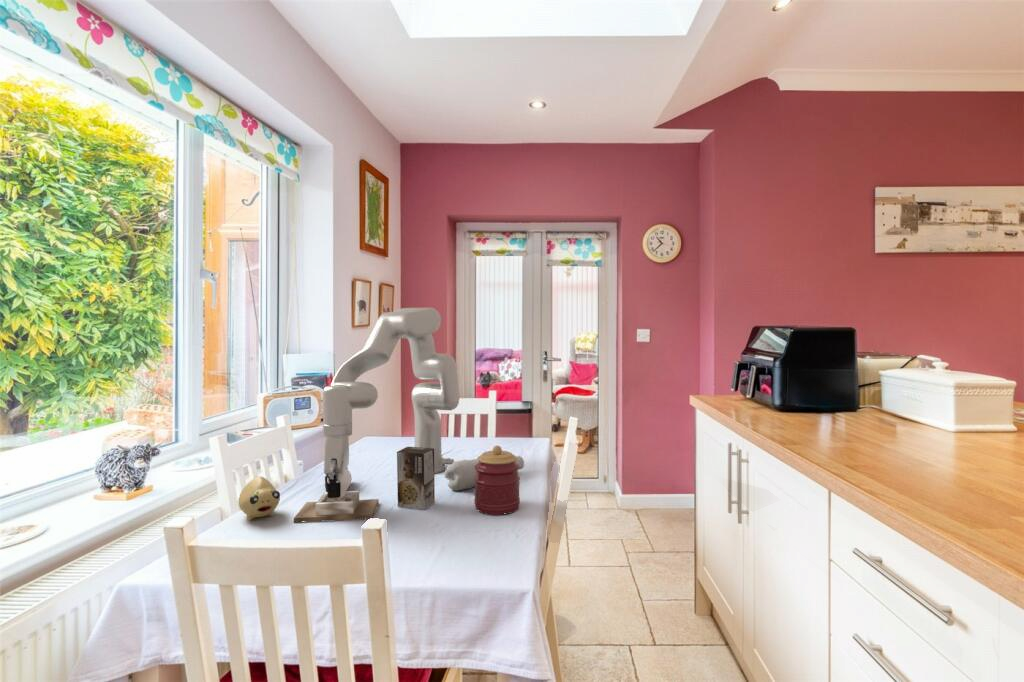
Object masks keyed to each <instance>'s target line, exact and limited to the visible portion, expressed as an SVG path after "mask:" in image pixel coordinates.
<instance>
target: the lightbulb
mask: <svg viewBox="0 0 1024 682" xmlns="http://www.w3.org/2000/svg"><path fill="white" fill-rule="evenodd" d="M328 476H329V475H328ZM336 477H337V475H336ZM352 478H353V477H352V473H351V472H350V471H349V469H348V470H347V469H345V470H344V472H343V473H341V474H340V480H339V482H341V496H340V497H339V498H335V502H345V495H346V491H347V490H348V488H349V486H351V484H352ZM327 482H328V479H327Z"/></svg>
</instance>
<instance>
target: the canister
mask: <svg viewBox="0 0 1024 682" xmlns="http://www.w3.org/2000/svg"><path fill="white" fill-rule="evenodd" d="M476 459H477V460H478V461H479V462H478V463H477V464H476V465H475V466H474V468H475V470H476V476H475V478H474V480H475V486H474V502H473V503H474V505H475V507H476V508H475V507H474V508H475V509H477V510H476V511H478V510H479V511H481V512H483V513H482V514H484V513H487V514H486V515H490V514H503V515H505V514H504V513H509V514H511V512H512V513H514V512H516V511H517V510H519V508H520V503H521V497H520V480H521V477H520V475H519V470H520V469H519V468H520V465H519V464H518V463H516V460H517V456H516V455H514V454H513V453H512V452H510V451H508V450H503V449H502V447H501V446H500V445H495V446H493V447H492V450H488V451H485V452H483V453H482V454H480V455H479V456H477V458H476ZM479 511H478V512H479ZM481 512H480V513H481Z"/></svg>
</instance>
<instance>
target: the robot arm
mask: <svg viewBox="0 0 1024 682" xmlns="http://www.w3.org/2000/svg"><path fill="white" fill-rule="evenodd" d="M441 322H442V318H441V314H440V313H439V310H437V309H436V308H434V307H404V308H403V307H402V308H398V309H396V310H394V311H388V312H384V313H382V314H381V315H380V316H379V317H378V318H377V321H376V323H375V325H374V326H373V328H372V331H371V332H370V335H369V336H368V338H367V340H366V342H365V344H364V346H363V348H362V349H361V350H360V351H358V352H356V353H355V354H353V356H351V357H350V358H349V359H348V360H346V361H345V362H344V363H343V364H342V365H341V366H340V367H339V369H338V370H337V372H336V373H335V376H334V377H333V380H332V381H331V383H330V385H327V386H325V387H324V388H323V391H322V413H323V414H322V415H323V416H322V418H323V419H322V420H323V421H322V422H323V423H322V430H323V434H322V435H323V437H324V438H325V443H324V457H323V458H324V460H323V461H324V462H323V463H324V464H323V473H324V474H325V475H326V474H328V473H329V476H328V498H339V497H340V496H341V482H339V480H340V474H341V473H343V472H344V470H345V469H347V470H348V471H349V468H348V467H349V463H350V438H349V437H350V436H352V435H353V410H354V409H357V410H359V409H361V410H362V409H368V408H370V407H372V406H373V405H374V404H375V403H376V402H377V399H378V397H379V393H378V390H377V388H376V386H374V385H373V384H371V383H369V382H365V381H357V379H359V377H361V376H362V375H364V374H365V373H366V372H368V371H371V370H374V369H376V368H379V367H381V366H383V365H385V364H387V363H388V362H389V361H390V359H391V357H392V354H393V352H394V350H395V348H396V346H397V344H398V342H399V340H400V339H407V341H408V343H409V347H410V356H411V365H412V372H413V375H414V377H415V378H416V379H418V380H423V381H424V382H420V383H418V384H416V385H414V386H413V388H412V391H411V402H412V407H413V408H412V409H413V415H414V447H421V448H434V474H438V473H441V472H445V470H446V468H447V465H448V466H449V465H451V464H452V463H453V462H455V460H454V458H451V457H450V458H449V457H447V458H444V457H443V454H442V420H441V416H440V414H439V412H438V411H453V410H455V409H456V408H457V407H458V406H459V404H460V403H459V402H460V383H459V374H458V373H459V372H458V367H457V363H456V360H455V358H454V357H453V356H452V355H450V354H448V353H437V352H436V347H435V340H434V337H433V335H432V334H433V333H435V332H437V331H438V330H439V328H440V326H441V324H442V323H441ZM425 380H426V381H427V382H425ZM428 381H439V382H428ZM336 475H337V477H336Z"/></svg>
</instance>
